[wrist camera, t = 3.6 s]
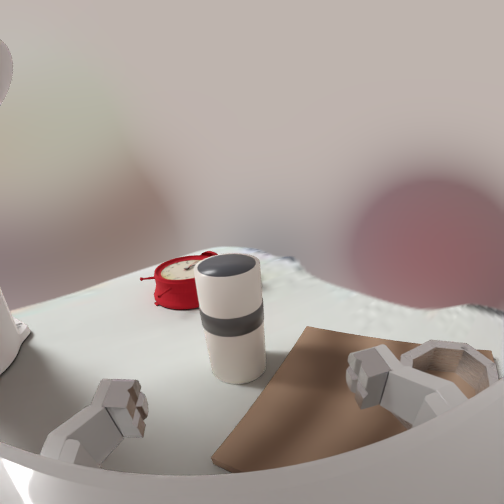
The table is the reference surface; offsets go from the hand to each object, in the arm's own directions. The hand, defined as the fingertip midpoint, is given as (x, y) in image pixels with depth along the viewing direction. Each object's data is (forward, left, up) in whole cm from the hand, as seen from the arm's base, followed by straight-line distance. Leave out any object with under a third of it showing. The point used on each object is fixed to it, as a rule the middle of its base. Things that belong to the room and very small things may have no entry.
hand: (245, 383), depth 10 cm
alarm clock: (-21, +22, -10) cm, 32 cm away
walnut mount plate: (+7, +9, -10) cm, 15 cm away
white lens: (-7, +10, -10) cm, 16 cm away
